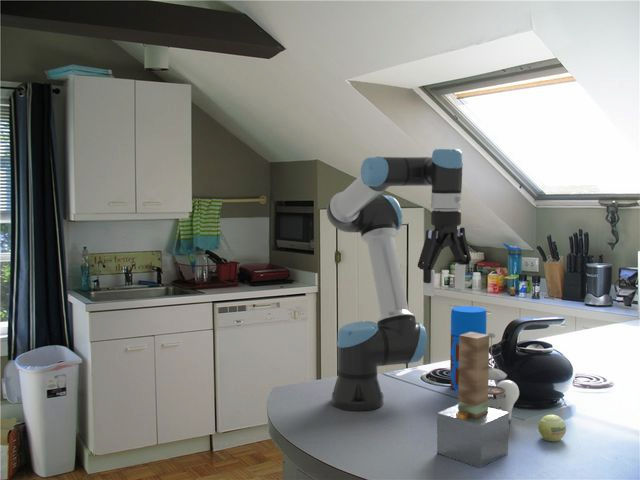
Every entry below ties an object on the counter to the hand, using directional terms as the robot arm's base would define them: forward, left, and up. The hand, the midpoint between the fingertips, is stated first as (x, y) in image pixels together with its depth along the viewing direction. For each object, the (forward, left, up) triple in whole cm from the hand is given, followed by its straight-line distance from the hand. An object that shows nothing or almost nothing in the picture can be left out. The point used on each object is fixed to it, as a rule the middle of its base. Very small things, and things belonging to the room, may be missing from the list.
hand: (444, 292), depth 180 cm
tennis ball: (+24, +13, -37) cm, 45 cm away
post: (+14, -9, -30) cm, 34 cm away
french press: (+6, +11, -37) cm, 39 cm away
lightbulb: (+8, +17, -37) cm, 41 cm away
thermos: (-16, +35, -37) cm, 53 cm away
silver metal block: (+14, -9, -36) cm, 40 cm away
